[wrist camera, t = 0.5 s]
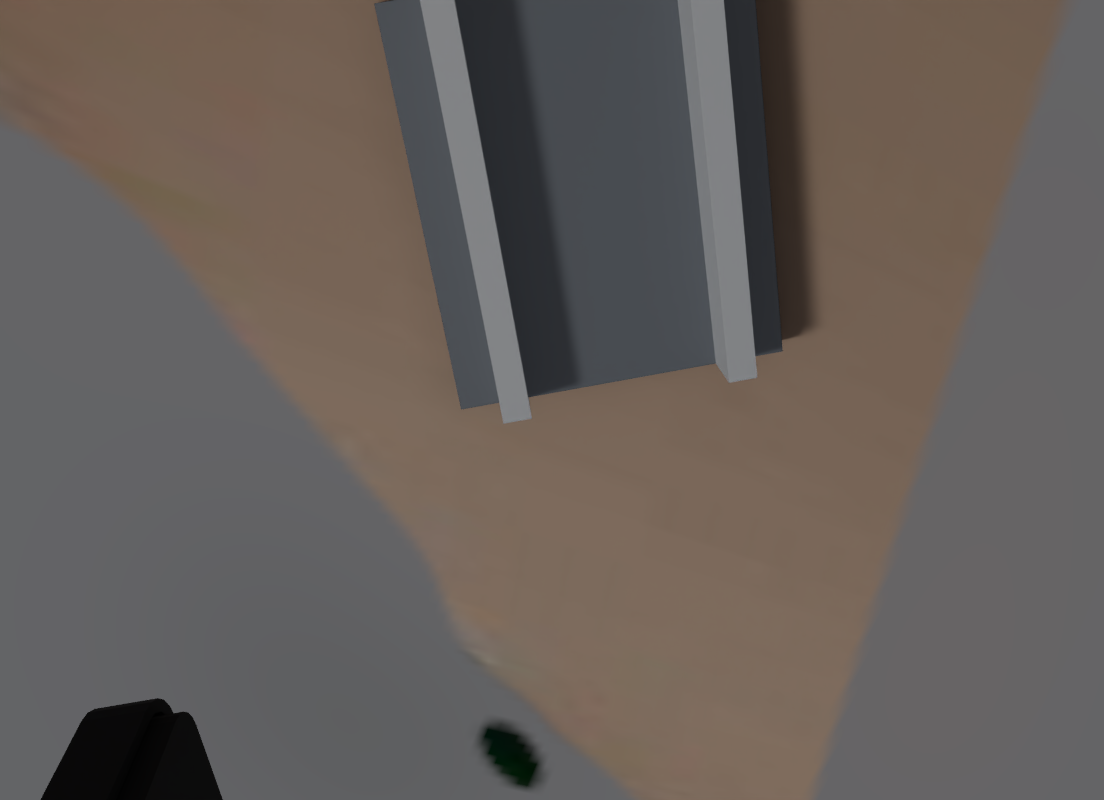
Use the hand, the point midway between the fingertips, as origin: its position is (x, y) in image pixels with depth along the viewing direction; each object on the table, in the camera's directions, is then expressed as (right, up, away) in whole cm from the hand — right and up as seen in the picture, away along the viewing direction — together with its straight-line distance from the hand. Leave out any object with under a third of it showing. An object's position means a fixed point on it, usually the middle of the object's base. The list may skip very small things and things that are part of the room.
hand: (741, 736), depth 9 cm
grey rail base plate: (0, +10, +26) cm, 28 cm away
